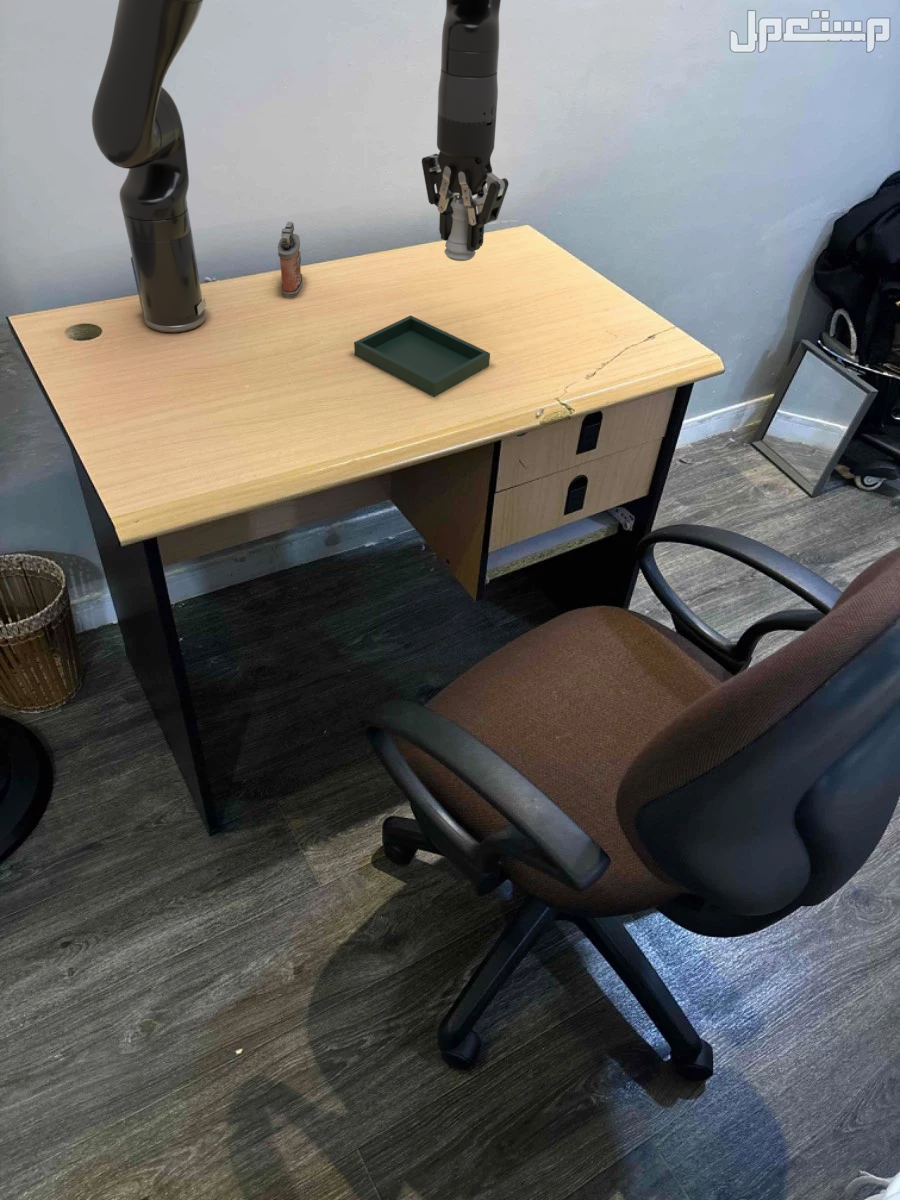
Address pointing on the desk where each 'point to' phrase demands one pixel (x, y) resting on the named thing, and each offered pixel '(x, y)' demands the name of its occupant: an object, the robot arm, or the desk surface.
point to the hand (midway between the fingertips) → (460, 243)
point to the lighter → (290, 262)
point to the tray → (422, 355)
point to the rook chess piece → (459, 232)
